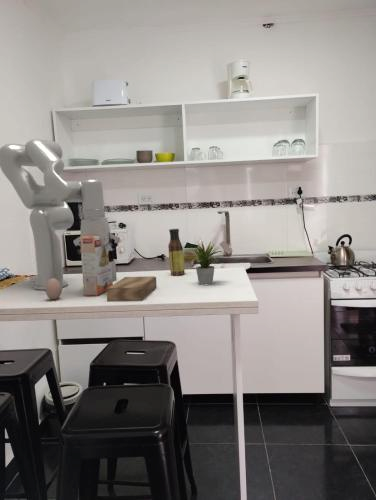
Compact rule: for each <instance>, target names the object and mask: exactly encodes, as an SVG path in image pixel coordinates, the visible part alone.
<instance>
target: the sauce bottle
mask: <svg viewBox="0 0 376 500" xmlns="http://www.w3.org/2000/svg"><path fill="white" fill-rule="evenodd" d="M168 230H169V235H170V238H169V239H170V240H169V243H168V245H167V246H168V261H169V270H170V275H171V276H183V275H184V274H185V268H186V267H185V259H184V257H185V256H184V247H183V244H182V241H181V240H180V234H179V233H180V229H179V228H170V229H168Z"/></svg>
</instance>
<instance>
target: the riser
mask: <svg viewBox="0 0 376 500" xmlns="http://www.w3.org/2000/svg"><path fill="white" fill-rule="evenodd" d="M157 287H158V285H157V276H149V275H148V276H125V277H123V278H122V279H120V280H118V281H117V282H115V283H113V285H112V286H110V287H108V288H107V289H106V292H105V293H106V301H107V302H135V301H136V302H141V301H142V302H143V301H144V300H145V299H146V298H147V297H148V296H149V295H150V294H152V292H154V291H155V290H156V289H157Z"/></svg>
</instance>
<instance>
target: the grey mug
mask: <svg viewBox="0 0 376 500" xmlns="http://www.w3.org/2000/svg"><path fill="white" fill-rule="evenodd" d="M116 267H117V266H116V259H115V258H114V261H112V280H113V282H115V281H117V280H118V279H117V268H116Z"/></svg>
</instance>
